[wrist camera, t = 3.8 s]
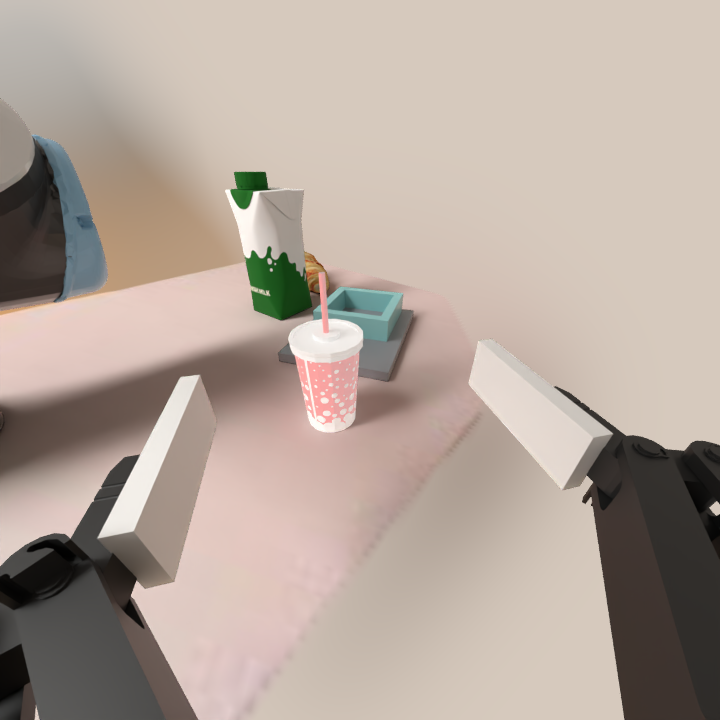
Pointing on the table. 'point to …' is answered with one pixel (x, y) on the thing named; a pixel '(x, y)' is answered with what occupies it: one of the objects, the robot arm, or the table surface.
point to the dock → (368, 327)
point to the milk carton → (271, 244)
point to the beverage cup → (328, 367)
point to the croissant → (314, 273)
